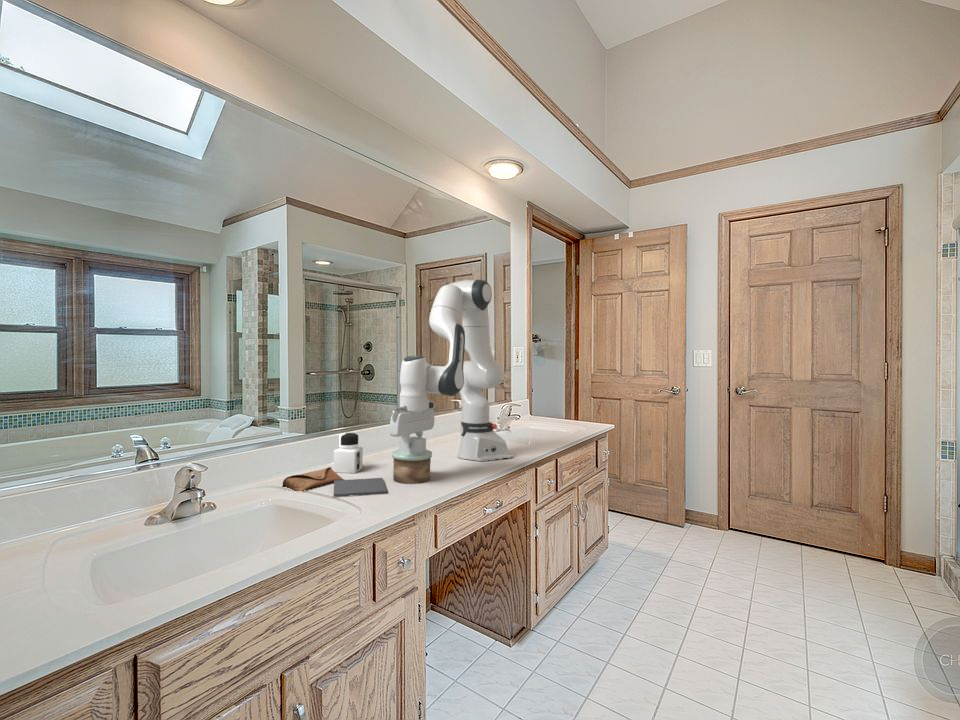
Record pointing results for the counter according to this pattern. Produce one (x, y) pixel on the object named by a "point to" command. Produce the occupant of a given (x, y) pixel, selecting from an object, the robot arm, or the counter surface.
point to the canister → (411, 471)
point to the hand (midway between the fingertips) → (412, 446)
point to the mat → (359, 487)
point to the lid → (412, 450)
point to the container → (348, 454)
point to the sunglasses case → (311, 480)
